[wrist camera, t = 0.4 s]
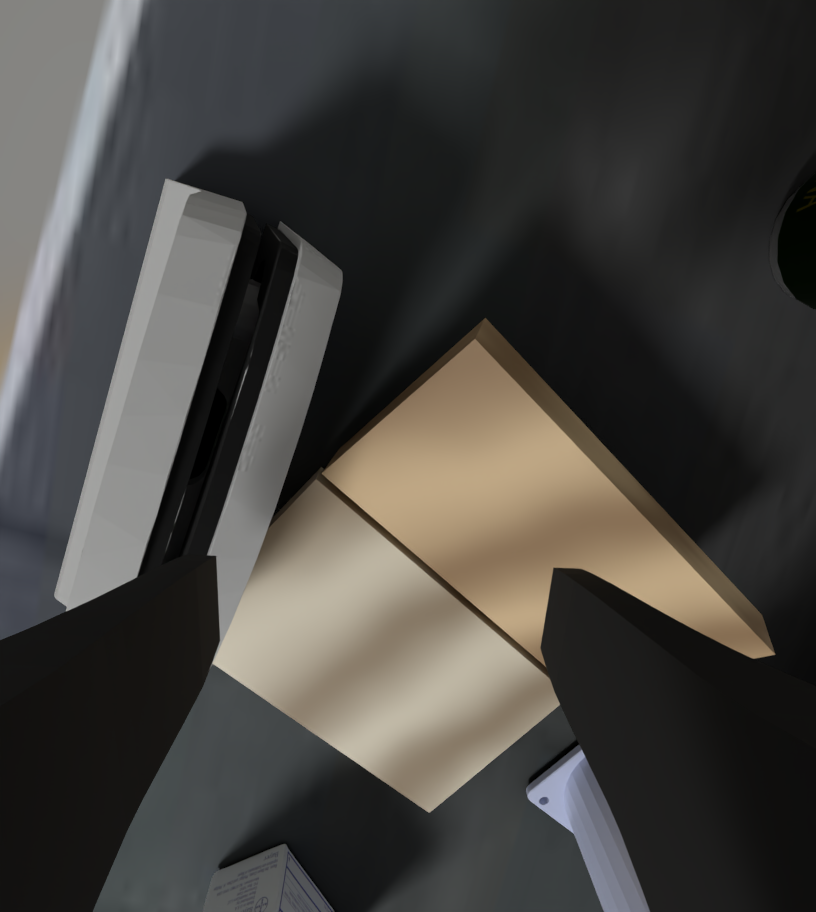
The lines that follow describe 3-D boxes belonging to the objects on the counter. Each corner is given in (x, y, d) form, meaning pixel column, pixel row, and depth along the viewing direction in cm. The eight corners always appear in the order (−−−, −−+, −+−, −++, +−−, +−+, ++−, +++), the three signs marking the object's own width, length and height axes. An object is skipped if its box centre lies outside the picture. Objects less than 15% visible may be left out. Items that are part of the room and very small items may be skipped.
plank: (762, 615, 17) (775, 654, 16) (575, 659, 22) (575, 692, 21) (485, 317, 14) (475, 338, 12) (338, 449, 18) (321, 473, 17)
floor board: (557, 670, 22) (570, 696, 21) (425, 781, 24) (429, 812, 22) (321, 466, 19) (316, 479, 17) (184, 609, 20) (168, 632, 19)
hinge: (173, 172, 16) (127, 74, 7) (304, 238, 18) (387, 223, 9) (63, 578, 20) (-53, 829, 11) (183, 591, 22) (164, 808, 13)
